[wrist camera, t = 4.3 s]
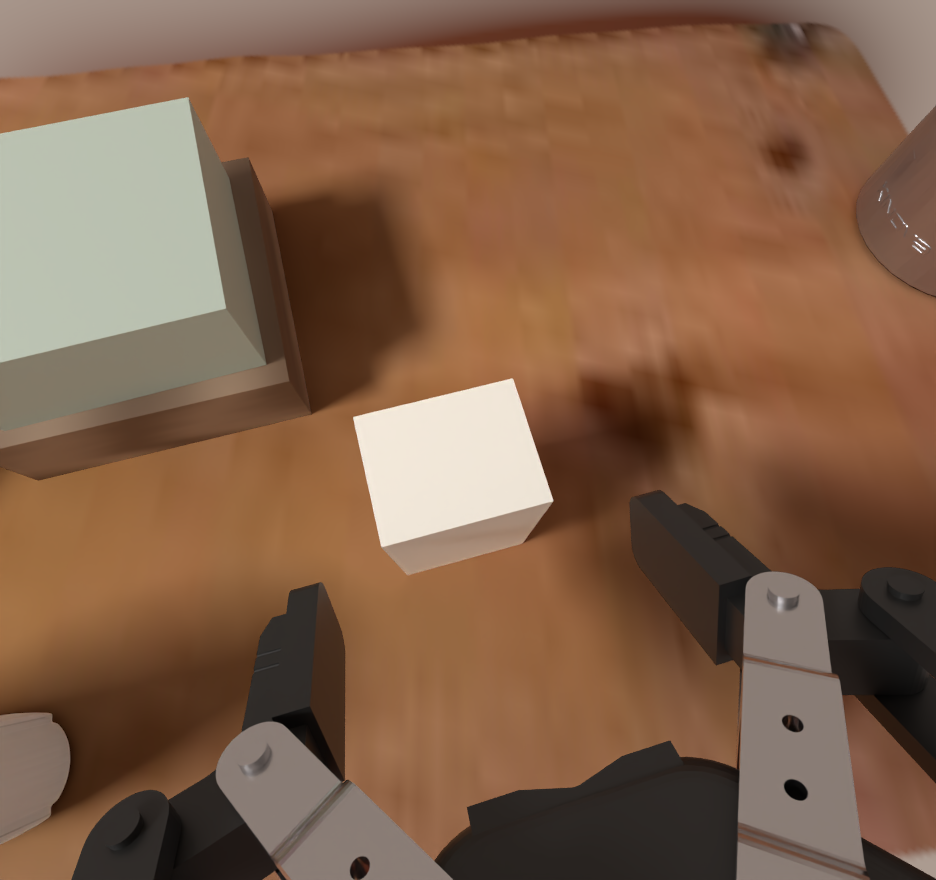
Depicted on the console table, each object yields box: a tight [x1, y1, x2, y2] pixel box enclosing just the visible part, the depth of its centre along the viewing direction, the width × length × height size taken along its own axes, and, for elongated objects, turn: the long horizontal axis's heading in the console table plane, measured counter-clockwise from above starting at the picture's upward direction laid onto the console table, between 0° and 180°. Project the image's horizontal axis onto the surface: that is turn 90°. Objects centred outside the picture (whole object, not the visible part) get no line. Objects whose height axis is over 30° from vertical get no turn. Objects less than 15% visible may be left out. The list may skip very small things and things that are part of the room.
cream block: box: [353, 379, 553, 575], centre depth 19 cm, size 5×4×8 cm
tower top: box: [0, 97, 267, 431], centre depth 21 cm, size 10×10×4 cm
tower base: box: [0, 158, 311, 480], centre depth 25 cm, size 12×12×4 cm
